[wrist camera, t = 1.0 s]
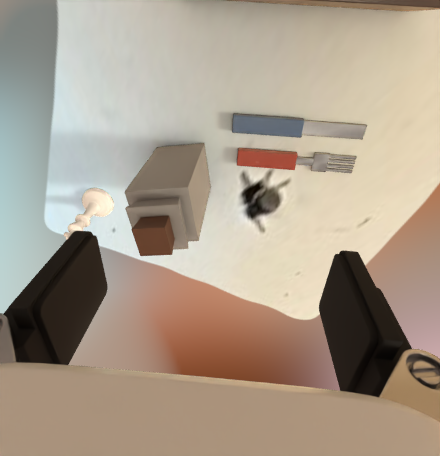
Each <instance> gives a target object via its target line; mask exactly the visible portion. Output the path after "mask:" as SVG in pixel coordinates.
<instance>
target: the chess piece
mask: <svg viewBox="0 0 440 456" xmlns="http://www.w3.org/2000/svg"><path fill="white" fill-rule="evenodd" d="M82 203H83V206H84V208H85V209H86V211H85V212H84V214H79V215H77V216H76V218H75V221H76V222H74V223H72V224H70V225H69V226H68V231H69V232H70V233H68V232H65V233H64V236H65V237H66V239H68V238H69V237H70V235H71V234H72V233H73V232H74V231H83V228H84V227H87V226H89V225H90V218H91V217H92V216H93V215H95V216H99V217H103V216H106V215H108V214H109V213H111V212H112V210H113V208H114V202H113V200H112V198H111V196H110V195H109V194H108V193H107V192H105V191H104V190H101V189H98V188H91V189H88V190H87V191H86V192H85V193H84V195H83V197H82Z"/></svg>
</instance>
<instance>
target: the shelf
mask: <svg viewBox="0 0 440 456" xmlns="http://www.w3.org/2000/svg"><path fill="white" fill-rule="evenodd" d="M227 1H244V2H261V3H277V4H294V5H311V6H327V7H344V8H361V9H377V10H394V11H419V10H434V9H440V0H227Z"/></svg>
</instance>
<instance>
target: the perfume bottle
mask: <svg viewBox="0 0 440 456" xmlns="http://www.w3.org/2000/svg"><path fill="white" fill-rule="evenodd" d="M210 188H211V185H210V178H209V172H208V165H207V158H206V151H205V145H204V143H198V144H187V145H176V146H165V147H157V148H156V149H155V151H154V152H153V153H152V155H151V156H150V158H149V159H148V160H147V162H146V163H145V164H144V166H143V167H142V169H141V170H140V171H139V173H138V174H137V175H136V177H135V178H134V180H133V181H132V182H131V184H130V185H129V186H128V188H127V189H126V190H125V195H126V198H127V201H128V204H129V206H128V207H126V208H125V209H126V212H127V214H128V217H129V220H130V223H131V226H132V232H133V235H134V238H135V241H136V244H137V247H138V250H139V253H140V256H152V255H172V252H173V249H188V241H199V236H200V232H201V228H202V223H203V219H204V214H205V210H206V206H207V201H208V197H209V193H210Z"/></svg>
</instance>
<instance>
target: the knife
mask: <svg viewBox="0 0 440 456" xmlns="http://www.w3.org/2000/svg"><path fill="white" fill-rule="evenodd" d="M366 127H367V125H364V124H350V123H337V122H323V121H309V120H304V119H303V118H290V117H276V116H262V115H249V114H235V113H234V115H233V127H232V132H233V133H247V134H260V135H273V136H286V137H300V138H301V136H302V135H311V136H324V137H338V138H351V139H363V137H364V134H365V130H366Z"/></svg>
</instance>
